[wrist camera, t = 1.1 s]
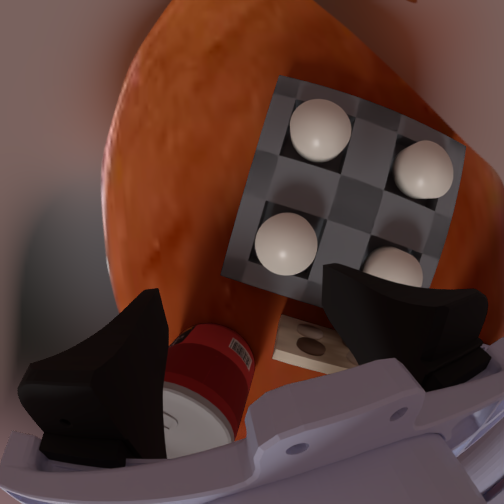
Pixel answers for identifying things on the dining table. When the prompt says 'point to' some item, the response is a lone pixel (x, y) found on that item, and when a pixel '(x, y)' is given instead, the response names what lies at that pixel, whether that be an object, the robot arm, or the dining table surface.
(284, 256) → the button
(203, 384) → the canned food
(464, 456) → the robot arm
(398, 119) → the button board
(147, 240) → the dining table surface
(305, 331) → the pattern plaque
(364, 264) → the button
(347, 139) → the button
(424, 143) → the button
